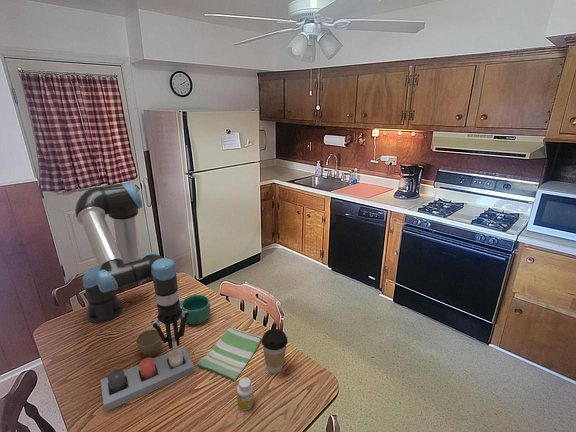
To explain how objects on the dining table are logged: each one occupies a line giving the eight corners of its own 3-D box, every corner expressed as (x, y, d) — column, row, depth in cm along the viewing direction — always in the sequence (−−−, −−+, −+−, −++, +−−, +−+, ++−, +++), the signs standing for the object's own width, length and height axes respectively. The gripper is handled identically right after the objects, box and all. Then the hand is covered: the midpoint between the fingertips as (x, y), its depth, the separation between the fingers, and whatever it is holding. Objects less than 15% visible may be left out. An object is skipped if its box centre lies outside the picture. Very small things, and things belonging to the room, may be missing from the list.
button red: (140, 373, 116) (138, 361, 114) (154, 367, 118) (152, 355, 116) (143, 383, 112) (140, 370, 110) (157, 377, 115) (155, 364, 113)
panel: (102, 385, 113) (100, 379, 112) (185, 352, 128) (184, 346, 127) (105, 411, 103) (103, 405, 102) (194, 372, 119) (194, 366, 118)
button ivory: (168, 364, 121) (166, 352, 119) (181, 358, 124) (180, 346, 122) (171, 373, 118) (170, 360, 116) (185, 367, 120) (183, 355, 118)
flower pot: (155, 362, 123) (152, 348, 121) (132, 358, 125) (129, 344, 122) (169, 344, 132) (167, 330, 130) (148, 340, 134) (145, 327, 132)
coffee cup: (290, 361, 125) (291, 331, 120) (281, 380, 116) (282, 349, 111) (267, 355, 128) (267, 325, 123) (257, 373, 119) (257, 342, 114)
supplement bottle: (238, 397, 109) (237, 375, 106) (253, 396, 110) (252, 375, 107) (237, 411, 104) (235, 389, 101) (253, 410, 105) (252, 388, 101)
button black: (110, 386, 111) (106, 373, 109) (125, 379, 113) (122, 367, 111) (111, 396, 107) (108, 383, 105) (127, 389, 109) (124, 376, 107)
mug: (215, 313, 152) (214, 297, 149) (202, 330, 141) (200, 313, 138) (185, 307, 156) (183, 291, 153) (170, 323, 145) (168, 306, 142)
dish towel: (195, 367, 122) (195, 361, 121) (229, 330, 142) (228, 325, 141) (235, 383, 115) (234, 377, 115) (263, 341, 136) (263, 336, 135)
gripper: (150, 312, 104) (159, 367, 112) (189, 300, 111) (195, 352, 119) (146, 301, 110) (154, 354, 118) (183, 290, 117) (189, 340, 125)
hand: (175, 353), depth 119 cm, fingers closed
